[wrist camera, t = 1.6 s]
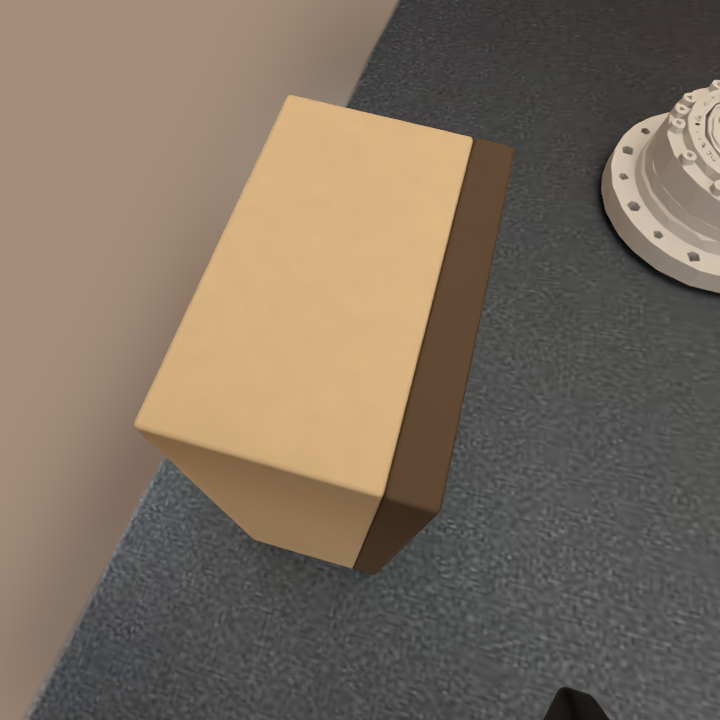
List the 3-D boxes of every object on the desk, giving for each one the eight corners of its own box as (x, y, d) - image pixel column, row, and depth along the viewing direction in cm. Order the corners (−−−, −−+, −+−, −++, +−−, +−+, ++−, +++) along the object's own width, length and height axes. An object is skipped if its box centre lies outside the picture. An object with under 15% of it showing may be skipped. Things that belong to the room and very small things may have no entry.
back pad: (419, 395, 22) (517, 145, 10) (374, 575, 19) (440, 514, 8) (311, 365, 23) (286, 92, 11) (252, 539, 20) (129, 425, 8)
